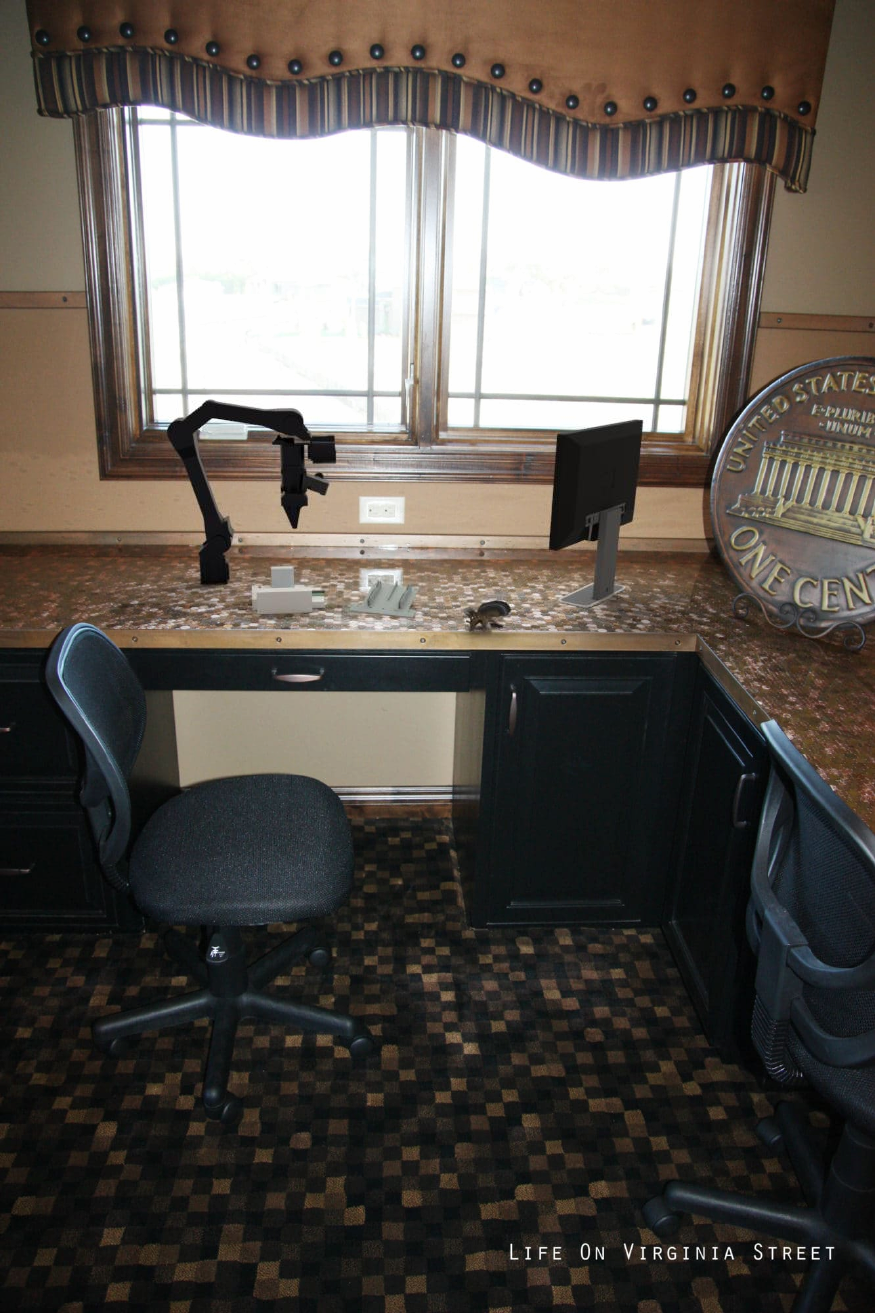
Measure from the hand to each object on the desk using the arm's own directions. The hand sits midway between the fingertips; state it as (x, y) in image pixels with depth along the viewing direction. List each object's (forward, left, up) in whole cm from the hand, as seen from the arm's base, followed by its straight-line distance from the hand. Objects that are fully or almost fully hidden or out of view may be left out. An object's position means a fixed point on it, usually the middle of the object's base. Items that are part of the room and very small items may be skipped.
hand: (294, 528), depth 222 cm
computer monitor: (+70, -20, -13) cm, 74 cm away
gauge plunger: (-2, -18, -13) cm, 22 cm away
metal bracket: (+20, -24, -14) cm, 34 cm away
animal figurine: (+38, -41, -13) cm, 58 cm away
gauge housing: (-3, -19, -13) cm, 23 cm away
